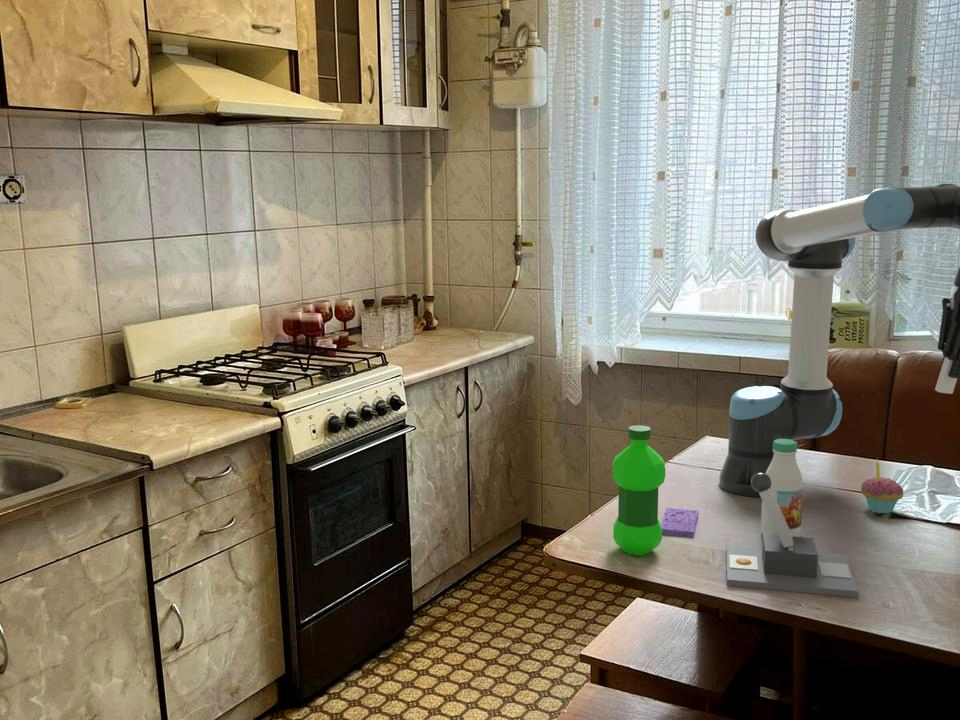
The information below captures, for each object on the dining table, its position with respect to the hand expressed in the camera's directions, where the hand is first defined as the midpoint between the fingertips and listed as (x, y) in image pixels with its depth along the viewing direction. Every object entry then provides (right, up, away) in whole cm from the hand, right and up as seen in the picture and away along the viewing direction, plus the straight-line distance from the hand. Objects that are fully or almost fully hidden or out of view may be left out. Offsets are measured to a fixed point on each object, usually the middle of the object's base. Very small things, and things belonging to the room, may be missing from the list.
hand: (943, 391), depth 171 cm
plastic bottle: (-56, -32, +9) cm, 65 cm away
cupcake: (+1, -27, +29) cm, 39 cm away
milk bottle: (-26, -30, +15) cm, 42 cm away
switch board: (-30, -34, -2) cm, 45 cm away
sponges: (-45, -30, +22) cm, 58 cm away
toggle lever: (-30, -28, -3) cm, 41 cm away
